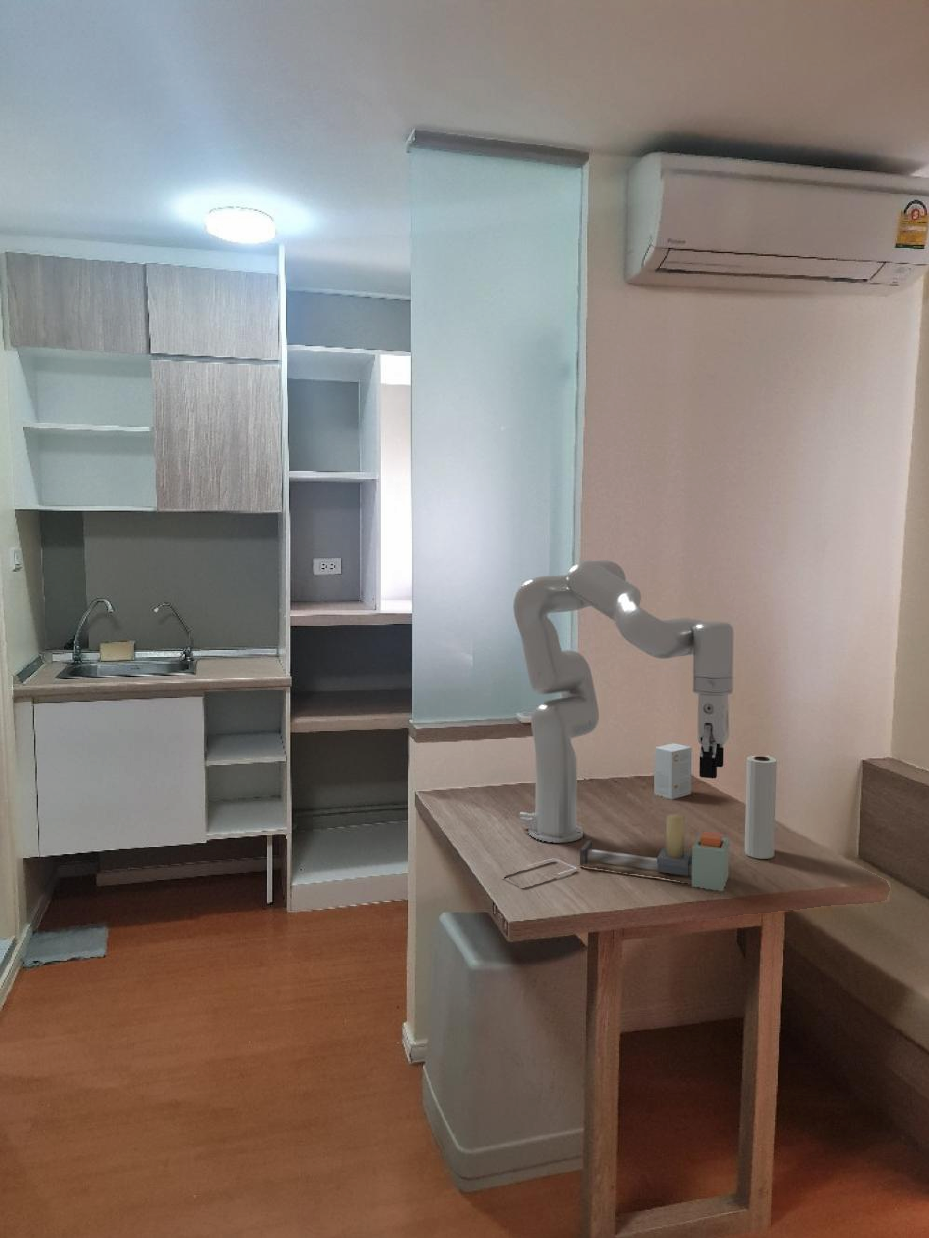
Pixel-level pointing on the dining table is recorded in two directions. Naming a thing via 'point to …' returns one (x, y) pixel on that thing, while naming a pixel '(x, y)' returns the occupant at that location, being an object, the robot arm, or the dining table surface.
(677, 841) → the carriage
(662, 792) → the small box
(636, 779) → the dining table surface
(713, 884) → the green button housing
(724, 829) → the dining table surface
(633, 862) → the rail base
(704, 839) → the button
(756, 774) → the paper towel roll
